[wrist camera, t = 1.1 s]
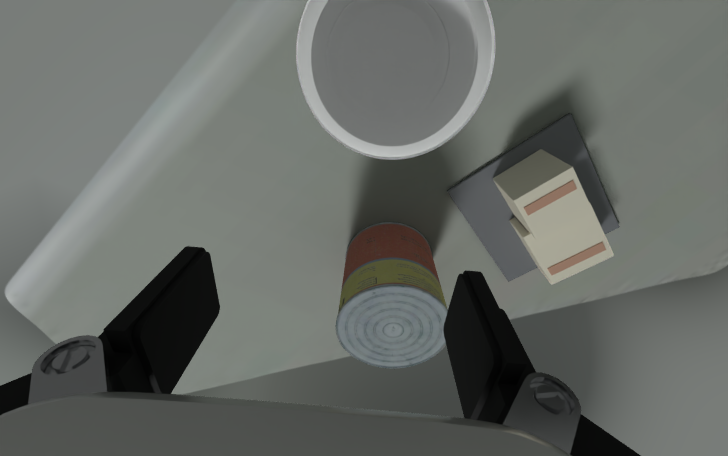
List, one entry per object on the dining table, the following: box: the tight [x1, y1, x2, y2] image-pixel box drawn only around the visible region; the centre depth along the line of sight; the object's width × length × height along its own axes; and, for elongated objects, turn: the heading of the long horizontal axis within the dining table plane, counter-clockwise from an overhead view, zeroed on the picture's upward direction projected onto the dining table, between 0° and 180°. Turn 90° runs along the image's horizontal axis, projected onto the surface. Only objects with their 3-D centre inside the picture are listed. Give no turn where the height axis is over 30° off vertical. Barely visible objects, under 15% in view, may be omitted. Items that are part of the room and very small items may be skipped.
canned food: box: [336, 222, 448, 368], centre depth 35 cm, size 11×11×12 cm
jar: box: [296, 0, 495, 160], centre depth 23 cm, size 11×10×15 cm
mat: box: [447, 114, 619, 282], centre depth 36 cm, size 14×16×1 cm
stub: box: [493, 149, 593, 240], centre depth 32 cm, size 6×5×6 cm
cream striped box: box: [509, 202, 614, 285], centre depth 35 cm, size 7×8×4 cm
